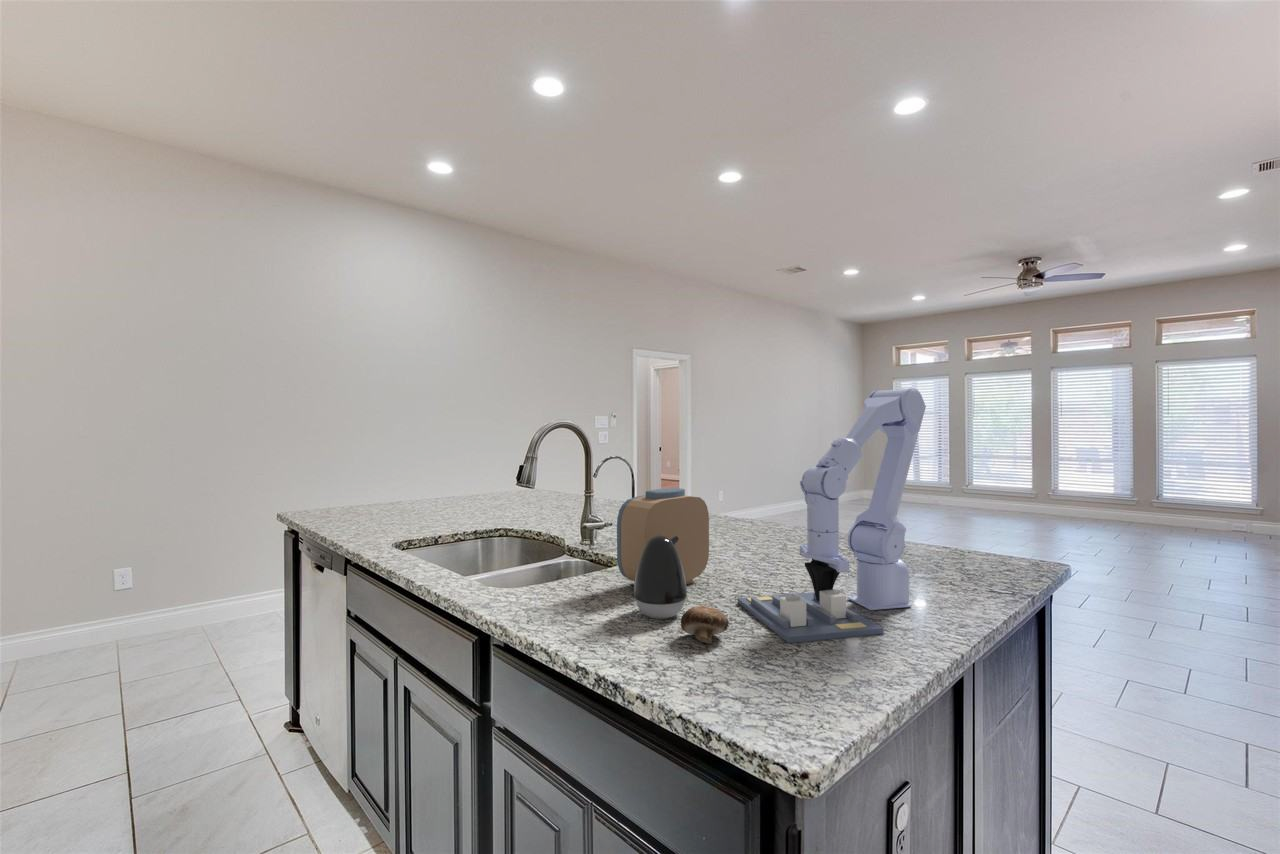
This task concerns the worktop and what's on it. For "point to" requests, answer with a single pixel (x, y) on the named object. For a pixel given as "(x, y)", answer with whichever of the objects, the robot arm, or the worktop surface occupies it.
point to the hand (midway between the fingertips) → (823, 600)
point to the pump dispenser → (660, 579)
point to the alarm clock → (663, 529)
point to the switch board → (808, 620)
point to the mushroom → (704, 623)
